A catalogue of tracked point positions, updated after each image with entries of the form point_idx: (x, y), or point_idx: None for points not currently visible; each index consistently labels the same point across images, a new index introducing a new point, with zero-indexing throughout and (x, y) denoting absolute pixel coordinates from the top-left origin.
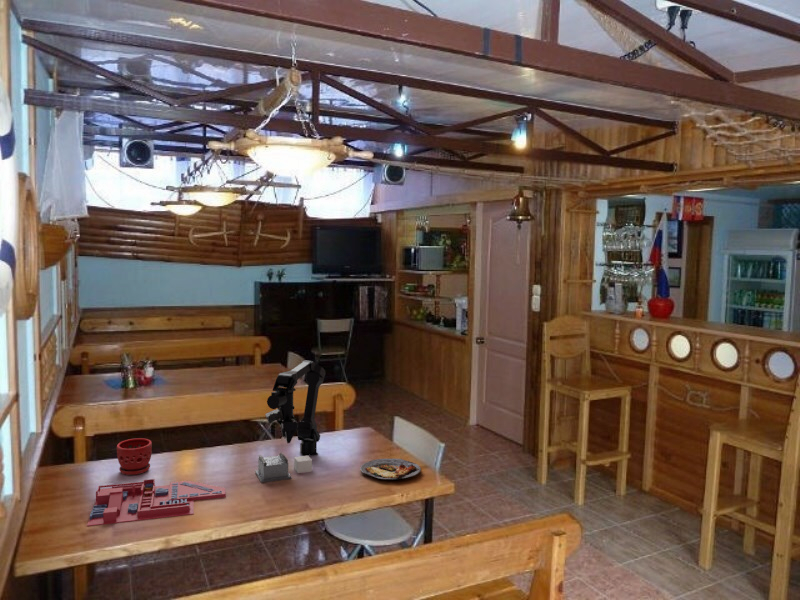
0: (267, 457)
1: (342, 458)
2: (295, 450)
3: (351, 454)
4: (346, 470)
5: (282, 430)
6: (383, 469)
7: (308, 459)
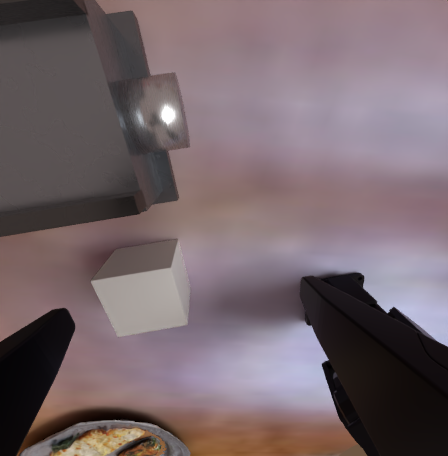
0: (95, 84)
1: (246, 376)
2: (389, 257)
3: (272, 394)
4: (136, 381)
5: (352, 332)
6: (136, 442)
7: (126, 324)
